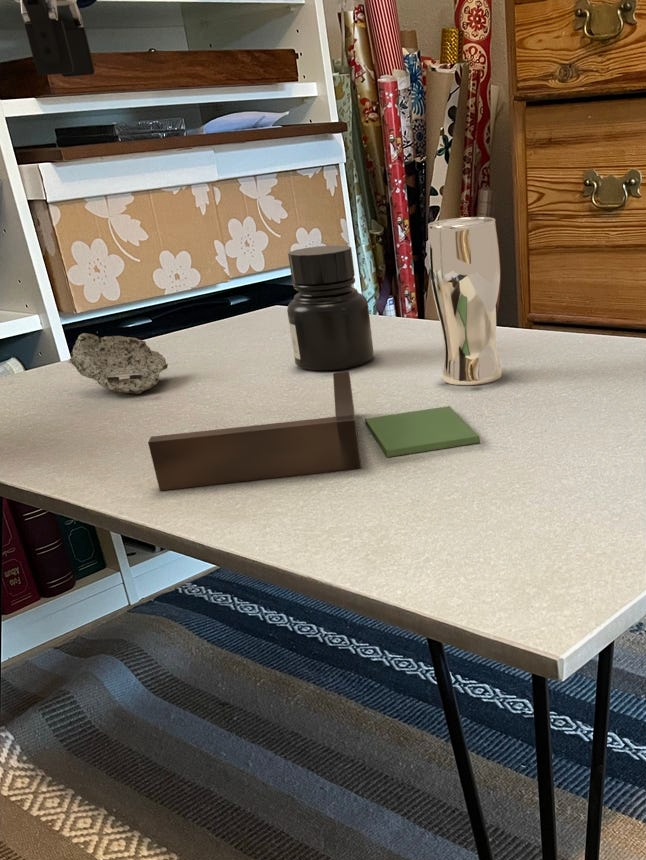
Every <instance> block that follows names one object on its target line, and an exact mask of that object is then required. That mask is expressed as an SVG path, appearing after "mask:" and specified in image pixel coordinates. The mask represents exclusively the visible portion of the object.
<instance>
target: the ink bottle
mask: <svg viewBox="0 0 646 860" xmlns="http://www.w3.org/2000/svg"><path fill="white" fill-rule="evenodd" d="M287 256H288V262H289V268H290V269H289V270H290V275H291V282H292V283H293V284H292V286H293V289H294V290H296V291H298V292H297V293H296V294H295V295H294V296H293V299H292V300H291V301H290V302H289V303H288V305H287V309H286V311H287V320H288V325H289V332H290V338H291V344H292V350H293V355H294V356H293V358H294V362H295V365H296V366H297V367H299V368H301V369H303V370H311V371H337V370H343V369H350V368H353V367H357V366H360V365H362V364H365V363H368V362H369V361H371V360H372V359H373V358H374V355H375V353H374V352H375V351H374V344H373V335H372V326H371V319H370V311H369V303H368V300H367V298H366V297H365V296H364V295H363V294H362V293H360V292H359V291H358V289H356V288H355V287H352V286H353V285H354V284H355V282H356V278H355V273H356V272H355V267H354V260H353V259H354V258H353V251H352V246H348V245H340V244H339V245H320V246H318V245H317V246H312V247H311V246H310V247H305V248H304V247H303V248H299V249H294V250H292V251H289V252H288V253H287Z"/></svg>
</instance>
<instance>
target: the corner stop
mask: <svg viewBox="0 0 646 860" xmlns="http://www.w3.org/2000/svg"><path fill="white" fill-rule="evenodd" d="M350 373H351V372H350V371H349V370H348V371H340V372H339V371H338V372H333V373H332V376H333V377H332V378H333V391H334V392H333V394H334V397H333V398H334V414H335V416H330V417H329V416H328V417H319V418H313V419H312V418H311V419H301V420H294V421H293V420H291V421H283V422H273V423H264V424H254V425H245V426H236V427H226V428H217V429H209V430H200V431H198V430H197V431H190V432H180V433H171V434H165V435H164V434H162V435H153V436H150V438H149V439H148V441H147V444H148V448H149V452H150V457H151V461H152V465H153V469H154V474H155V477H156V481H157V485H158V489H159V492H160V491H169V490H180V489H187V488H196V487H197V488H198V487H205V486H215V485H222V484H223V485H224V484H232V483H241V482H249V481H250V482H251V481H258V480H267V479H268V480H269V479H276V478H284V477H295V476H303V475H312V474H321V473H329V472H337V471H346V470H347V471H348V470H356V469H362V462H361V454H360V446H359V438H358V428H357V420H356V413H355V403H354V399H353V398H354V397H353V396H354V395H353V390H352V389H353V388H352V382H351V375H350Z"/></svg>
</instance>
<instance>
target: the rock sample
mask: <svg viewBox="0 0 646 860" xmlns="http://www.w3.org/2000/svg"><path fill="white" fill-rule="evenodd" d="M96 333H97V334H98V331H96ZM69 355H70V358H69V359H68V361H67V364H70V365H72V366H73V367H74V368H75V369H76V371H77V372H78V373H79V374H80V375H81V376H83V377H85V378H88V379H92V380H94V381H96V383H95V385H100V386H101V387H103V388H105V389H107V390H109V391H111V392H116V393H117V392H121V393H124V394H125V393H127V394H128V393H129V394H135V395H139V394H142V393H143V392H144V391H147V390H151V389H153V388H154V387H155V386H156V385H157V384H158V383H159V379H160V378H159V377H160V374H161V373H162V372H163V371H164V370H165V371H166V370H167V369H168V367H169V366H168V365H169V363H167V362H166V358H165V356H163V354H161V353H160V352H159V351H155V350H151V347H149V345H147V342H146V341H145V340H143V339H139V338H136V337H130V336H129V337H127V336H122V335H111V336H106V335H105V336H103V337H100V336H98V335H96V334H92V333H86V332H84V333H83V332H82V333H81V334H79V335H78V337H77V339H75V344H74V345H73V347H72V351H71V352H70V354H69ZM97 383H98V384H97Z"/></svg>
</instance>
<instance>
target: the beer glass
mask: <svg viewBox="0 0 646 860" xmlns="http://www.w3.org/2000/svg"><path fill="white" fill-rule="evenodd" d="M496 221H497V220H496V218H495V217H489V216H470V217H469V216H465V217H455V218H453V217H452V218H447V219H446V218H445V219H439V220H435V221H431V222H429V223H428V224H427V229H428V231H427V233H428V234H427V236H428V237H427V238H428V240H427V241H428V244H427V245H428V246H427V247H428V268H429V277H430V283H431V284H430V285H431V290H432V295H433V299H434V304H435V308H436V312H437V317H438V319H439V323H440V328H441V332H442V336H443V337H442V338H443V345H444V362H443V372H442V373H443V374H442V379H443V381H444V382H445V383H447V384H449V385H456V386H476V385H484V384H489V383H492V382H496V381H497V380H500V379H501V377H502V376H503V372H502V366H501V362H500V357H499V353H498V349H497V347H498V346H497V326H498V325H497V323H498V313H499V306H500V305H499V304H500V295H501V294H500V293H501V280H502V277H501V275H502V274H501V257H500V256H501V255H500V248H499V247H500V246H499V238H498V231H497V223H496Z"/></svg>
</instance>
